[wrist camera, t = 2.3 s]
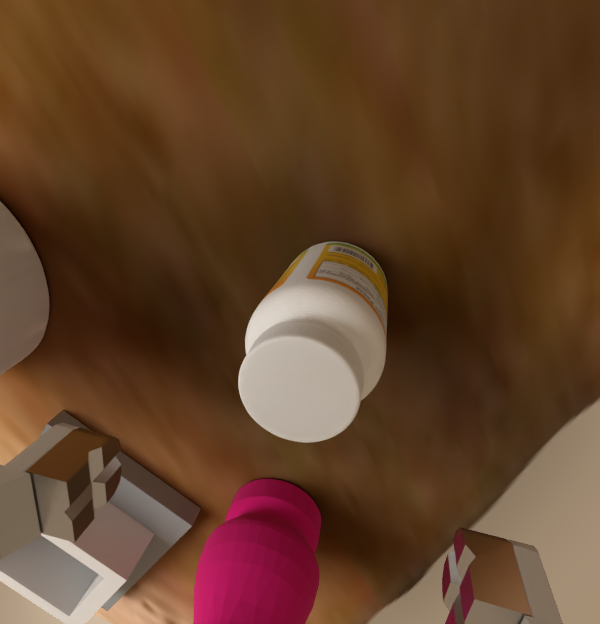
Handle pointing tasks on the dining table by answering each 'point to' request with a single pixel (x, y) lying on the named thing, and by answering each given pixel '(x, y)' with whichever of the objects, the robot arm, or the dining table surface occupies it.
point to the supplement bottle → (316, 344)
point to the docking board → (101, 546)
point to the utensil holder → (20, 293)
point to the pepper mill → (261, 558)
